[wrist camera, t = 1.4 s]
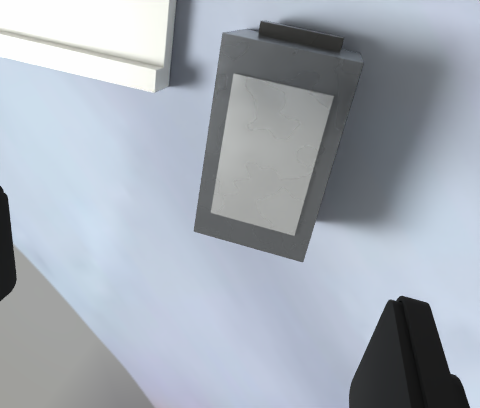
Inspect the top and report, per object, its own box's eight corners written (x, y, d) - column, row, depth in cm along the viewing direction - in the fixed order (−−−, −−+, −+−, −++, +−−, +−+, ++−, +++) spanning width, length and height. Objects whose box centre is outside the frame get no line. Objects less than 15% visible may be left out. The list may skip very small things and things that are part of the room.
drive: (363, 40, 20) (368, 47, 16) (310, 219, 25) (302, 264, 21) (249, 16, 21) (223, 17, 17) (219, 194, 26) (192, 233, 22)
